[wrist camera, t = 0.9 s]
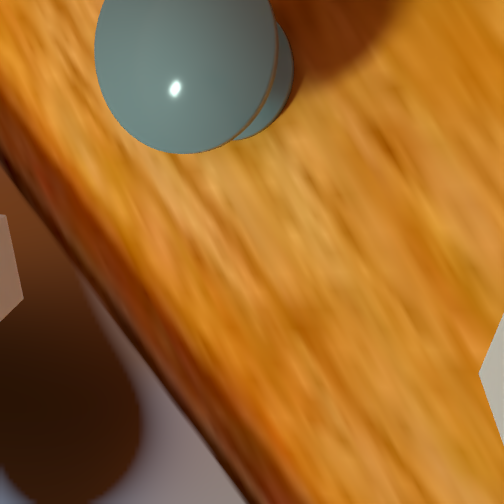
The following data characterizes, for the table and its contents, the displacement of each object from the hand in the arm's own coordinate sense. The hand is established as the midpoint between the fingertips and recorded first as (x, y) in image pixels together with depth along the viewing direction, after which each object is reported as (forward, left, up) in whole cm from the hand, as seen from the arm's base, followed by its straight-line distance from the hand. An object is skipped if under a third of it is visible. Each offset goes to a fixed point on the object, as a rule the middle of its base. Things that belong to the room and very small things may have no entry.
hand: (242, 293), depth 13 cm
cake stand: (+14, +2, -24) cm, 28 cm away
